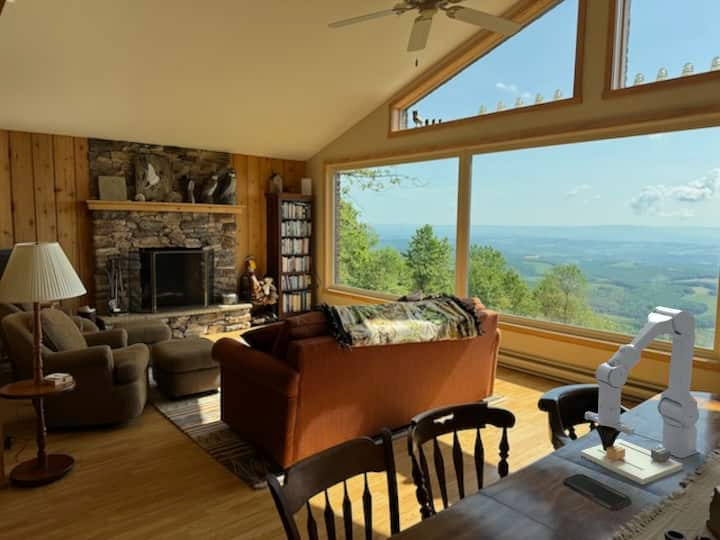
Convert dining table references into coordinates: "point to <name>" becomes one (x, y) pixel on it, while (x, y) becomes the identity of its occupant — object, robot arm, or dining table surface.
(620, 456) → the fader orange
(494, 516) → the dining table surface
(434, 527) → the dining table surface
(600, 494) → the phone
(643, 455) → the board
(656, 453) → the block
